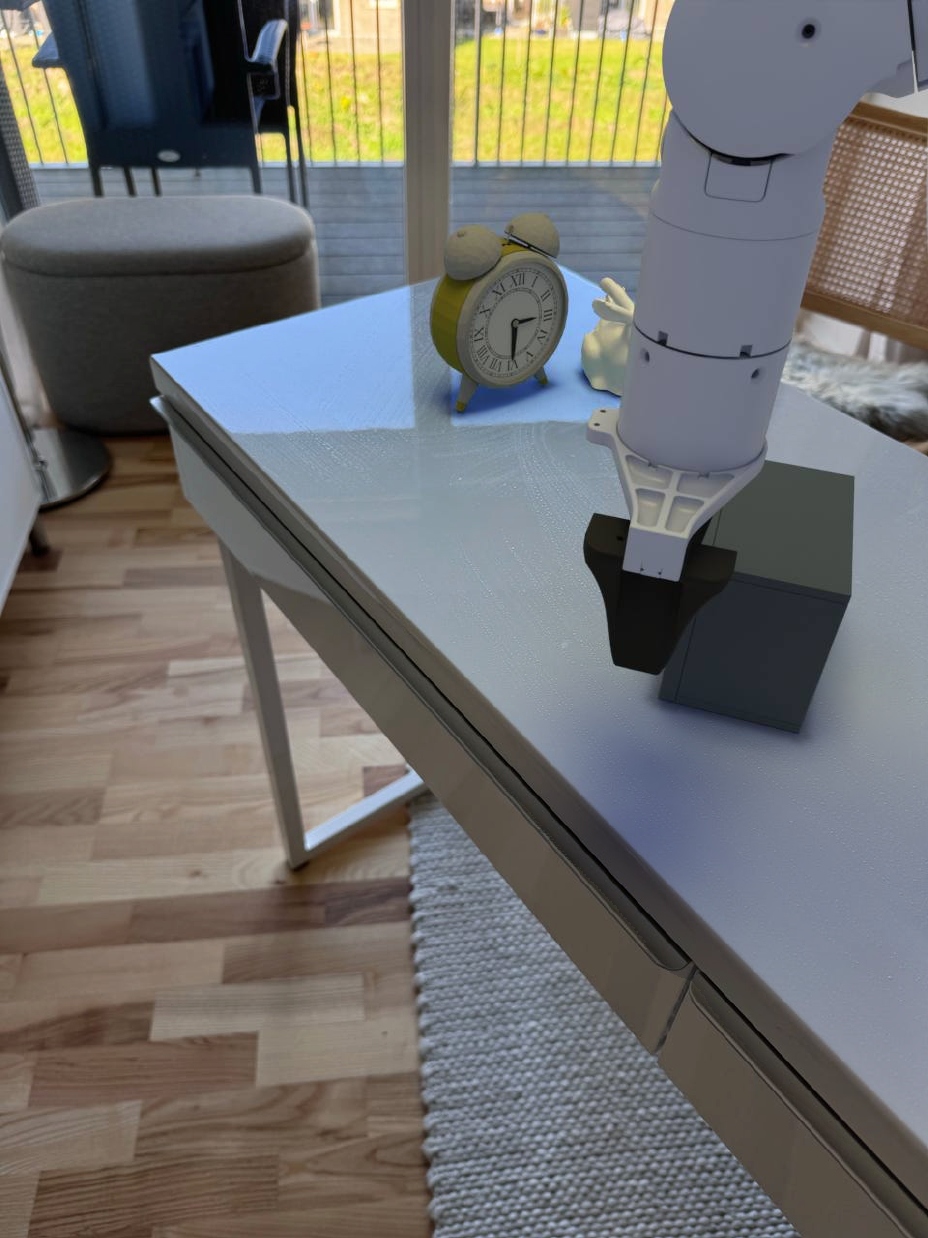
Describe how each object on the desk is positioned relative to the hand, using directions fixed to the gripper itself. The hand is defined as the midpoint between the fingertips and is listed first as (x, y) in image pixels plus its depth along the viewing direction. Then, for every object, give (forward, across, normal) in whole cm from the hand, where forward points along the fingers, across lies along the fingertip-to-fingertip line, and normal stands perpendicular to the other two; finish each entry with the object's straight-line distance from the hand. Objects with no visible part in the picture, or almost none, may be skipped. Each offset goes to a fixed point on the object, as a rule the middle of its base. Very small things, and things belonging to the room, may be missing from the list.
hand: (652, 612), depth 42 cm
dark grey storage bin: (+11, -12, +5) cm, 17 cm away
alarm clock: (+11, -40, -20) cm, 46 cm away
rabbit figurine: (+11, -45, -10) cm, 47 cm away
